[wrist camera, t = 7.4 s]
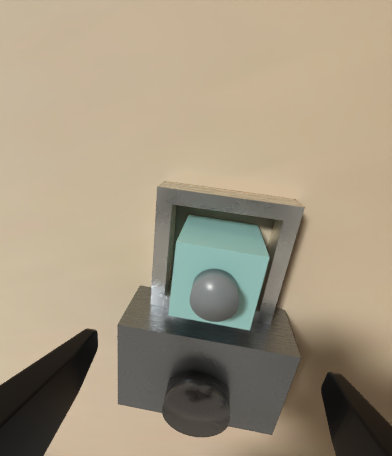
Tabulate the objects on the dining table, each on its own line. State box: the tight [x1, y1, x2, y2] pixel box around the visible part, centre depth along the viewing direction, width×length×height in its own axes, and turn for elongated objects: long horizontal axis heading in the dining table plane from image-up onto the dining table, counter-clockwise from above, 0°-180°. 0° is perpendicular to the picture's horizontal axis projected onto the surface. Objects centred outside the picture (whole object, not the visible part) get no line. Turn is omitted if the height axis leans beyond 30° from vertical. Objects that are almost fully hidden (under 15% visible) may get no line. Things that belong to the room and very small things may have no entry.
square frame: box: [118, 181, 305, 437], centre depth 17 cm, size 12×17×6 cm
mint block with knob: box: [168, 214, 270, 330], centre depth 16 cm, size 5×5×6 cm
